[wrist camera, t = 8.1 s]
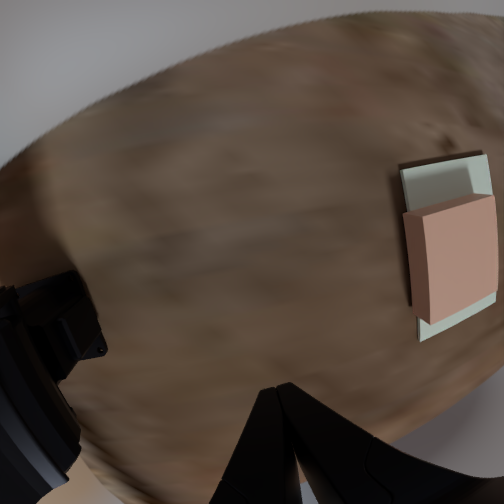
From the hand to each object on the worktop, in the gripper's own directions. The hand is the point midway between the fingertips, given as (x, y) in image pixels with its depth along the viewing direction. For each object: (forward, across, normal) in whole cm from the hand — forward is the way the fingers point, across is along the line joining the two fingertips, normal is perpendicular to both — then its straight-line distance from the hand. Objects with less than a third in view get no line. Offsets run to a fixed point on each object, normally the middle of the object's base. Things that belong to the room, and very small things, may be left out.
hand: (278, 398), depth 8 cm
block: (+11, -12, +3) cm, 17 cm away
